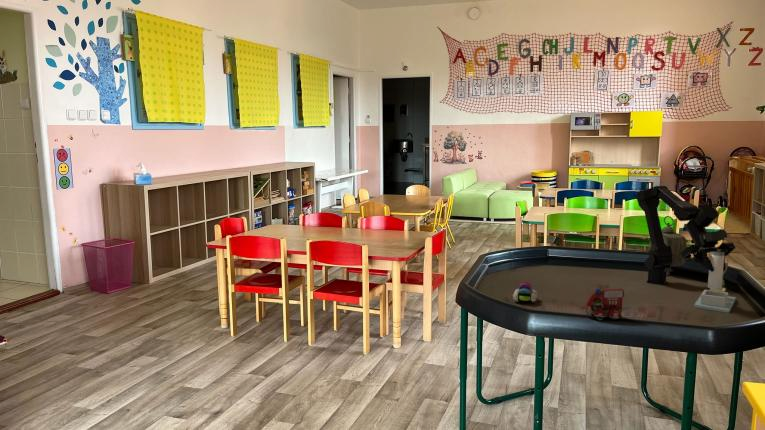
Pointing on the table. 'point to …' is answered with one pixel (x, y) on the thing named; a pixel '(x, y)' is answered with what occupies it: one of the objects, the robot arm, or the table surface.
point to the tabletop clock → (673, 244)
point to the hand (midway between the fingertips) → (718, 270)
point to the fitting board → (715, 300)
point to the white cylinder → (716, 270)
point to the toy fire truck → (605, 302)
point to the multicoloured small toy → (525, 292)
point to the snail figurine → (724, 272)
